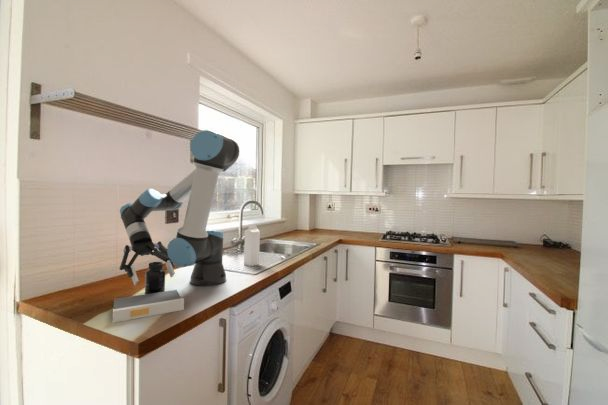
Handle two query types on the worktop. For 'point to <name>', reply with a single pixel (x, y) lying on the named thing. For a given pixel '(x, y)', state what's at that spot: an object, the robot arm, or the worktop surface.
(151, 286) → the supplement bottle
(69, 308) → the worktop surface
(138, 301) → the open storage tray
